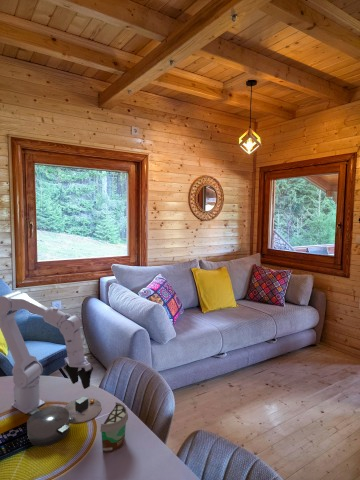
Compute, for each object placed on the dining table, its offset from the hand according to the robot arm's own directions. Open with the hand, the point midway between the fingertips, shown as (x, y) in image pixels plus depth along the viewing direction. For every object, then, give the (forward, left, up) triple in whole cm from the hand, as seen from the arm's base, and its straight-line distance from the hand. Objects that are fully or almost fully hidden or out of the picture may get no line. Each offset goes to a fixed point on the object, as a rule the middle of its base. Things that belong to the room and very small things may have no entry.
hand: (80, 385), depth 116 cm
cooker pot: (-1, -13, -10) cm, 17 cm away
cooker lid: (-1, +1, -11) cm, 11 cm away
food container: (+22, -4, -11) cm, 25 cm away
